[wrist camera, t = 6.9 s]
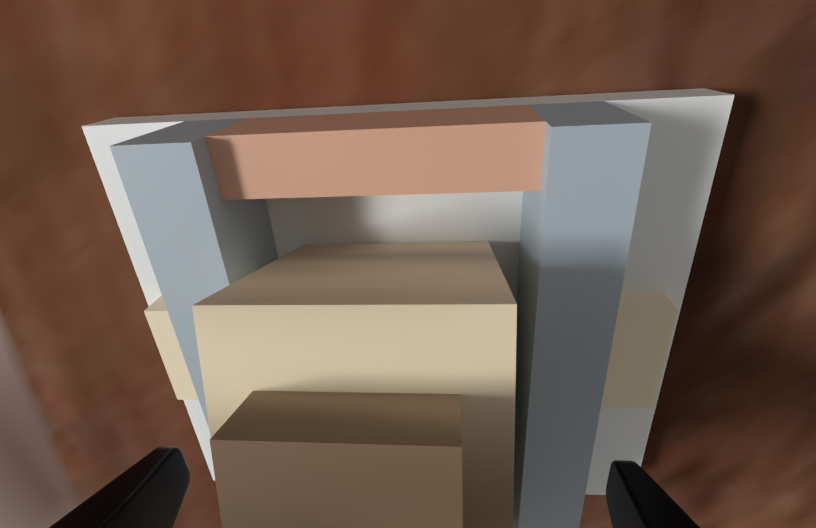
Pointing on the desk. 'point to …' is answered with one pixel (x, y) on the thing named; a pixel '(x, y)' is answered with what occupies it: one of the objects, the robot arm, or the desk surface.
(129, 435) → the desk surface
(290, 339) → the stepped cream block
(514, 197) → the jig
